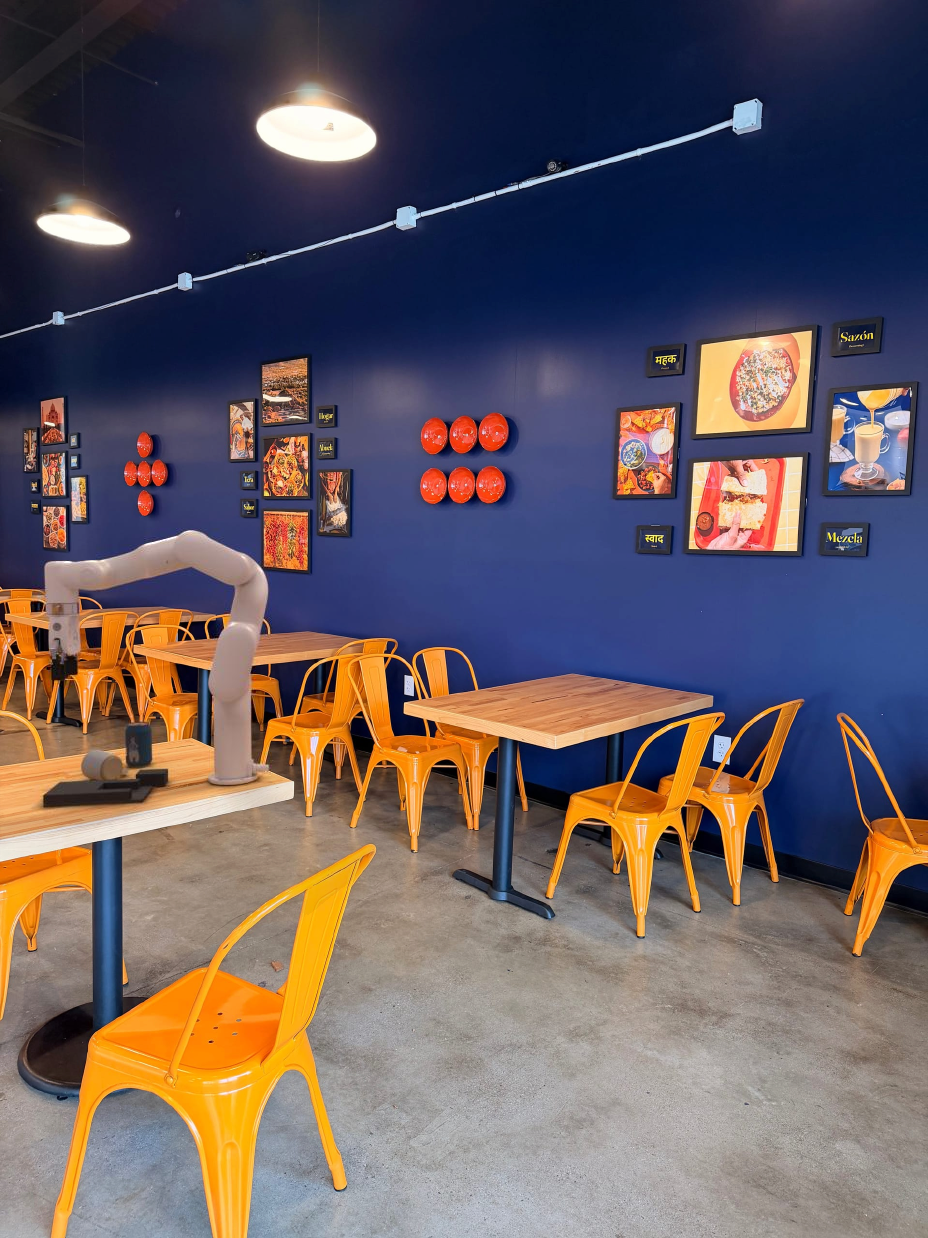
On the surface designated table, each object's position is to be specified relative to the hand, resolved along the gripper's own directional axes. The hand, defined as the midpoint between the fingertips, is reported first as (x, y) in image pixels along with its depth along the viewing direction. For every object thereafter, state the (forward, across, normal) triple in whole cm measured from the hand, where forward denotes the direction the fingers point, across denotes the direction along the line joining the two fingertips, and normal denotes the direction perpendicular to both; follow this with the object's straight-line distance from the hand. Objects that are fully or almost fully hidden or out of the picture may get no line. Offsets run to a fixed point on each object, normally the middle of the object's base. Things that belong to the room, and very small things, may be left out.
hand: (64, 677), depth 202 cm
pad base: (+28, -12, -11) cm, 32 cm away
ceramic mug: (+28, +6, -8) cm, 30 cm away
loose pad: (+28, -2, -21) cm, 35 cm away
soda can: (+28, +20, -13) cm, 37 cm away
